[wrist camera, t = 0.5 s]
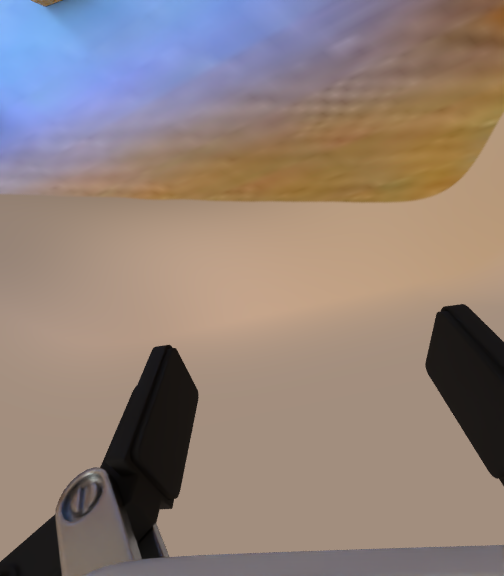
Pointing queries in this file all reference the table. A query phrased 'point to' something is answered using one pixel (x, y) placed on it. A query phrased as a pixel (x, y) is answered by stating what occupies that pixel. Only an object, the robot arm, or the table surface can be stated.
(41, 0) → the mustard block
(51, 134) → the table surface
